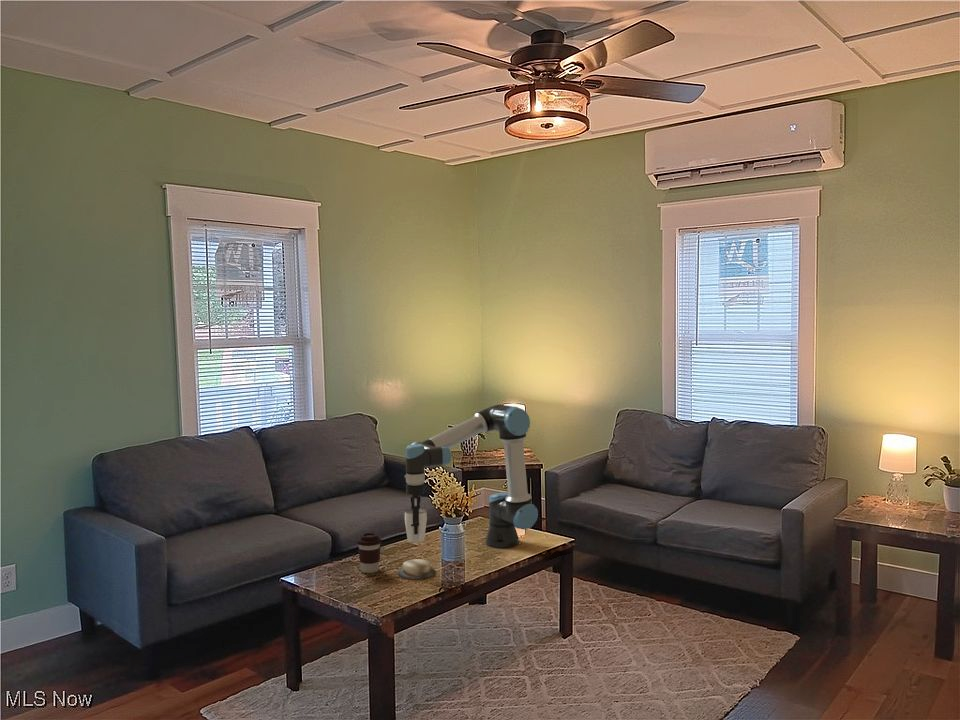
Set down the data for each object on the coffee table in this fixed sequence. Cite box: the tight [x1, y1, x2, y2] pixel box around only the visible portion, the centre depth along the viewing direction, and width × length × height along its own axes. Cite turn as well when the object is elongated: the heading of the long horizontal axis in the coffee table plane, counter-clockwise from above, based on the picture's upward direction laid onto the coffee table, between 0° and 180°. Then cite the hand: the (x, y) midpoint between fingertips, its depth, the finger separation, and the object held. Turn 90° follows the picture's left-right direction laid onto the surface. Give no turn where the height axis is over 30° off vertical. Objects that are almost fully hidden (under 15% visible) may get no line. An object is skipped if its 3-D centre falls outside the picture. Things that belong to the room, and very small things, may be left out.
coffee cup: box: [356, 532, 382, 574], centre depth 324 cm, size 10×10×15 cm
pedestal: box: [397, 558, 436, 581], centre depth 320 cm, size 15×15×4 cm
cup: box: [404, 508, 428, 544], centre depth 319 cm, size 9×9×12 cm
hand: (416, 538), depth 320 cm, fingers closed on cup, 9 cm apart
